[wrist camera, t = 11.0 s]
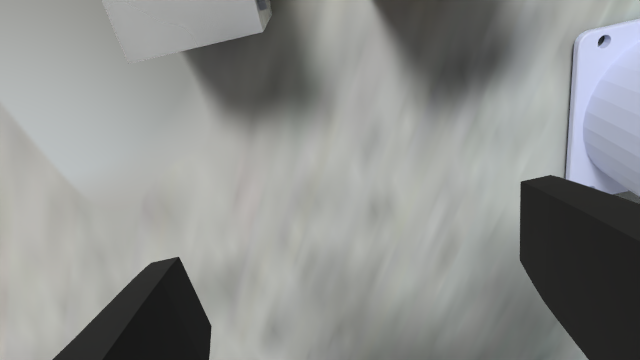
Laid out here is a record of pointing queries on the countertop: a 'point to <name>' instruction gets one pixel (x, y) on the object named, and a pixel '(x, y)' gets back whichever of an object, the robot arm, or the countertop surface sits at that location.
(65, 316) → the countertop surface
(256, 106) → the countertop surface
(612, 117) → the robot arm
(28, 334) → the countertop surface
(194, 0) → the block
